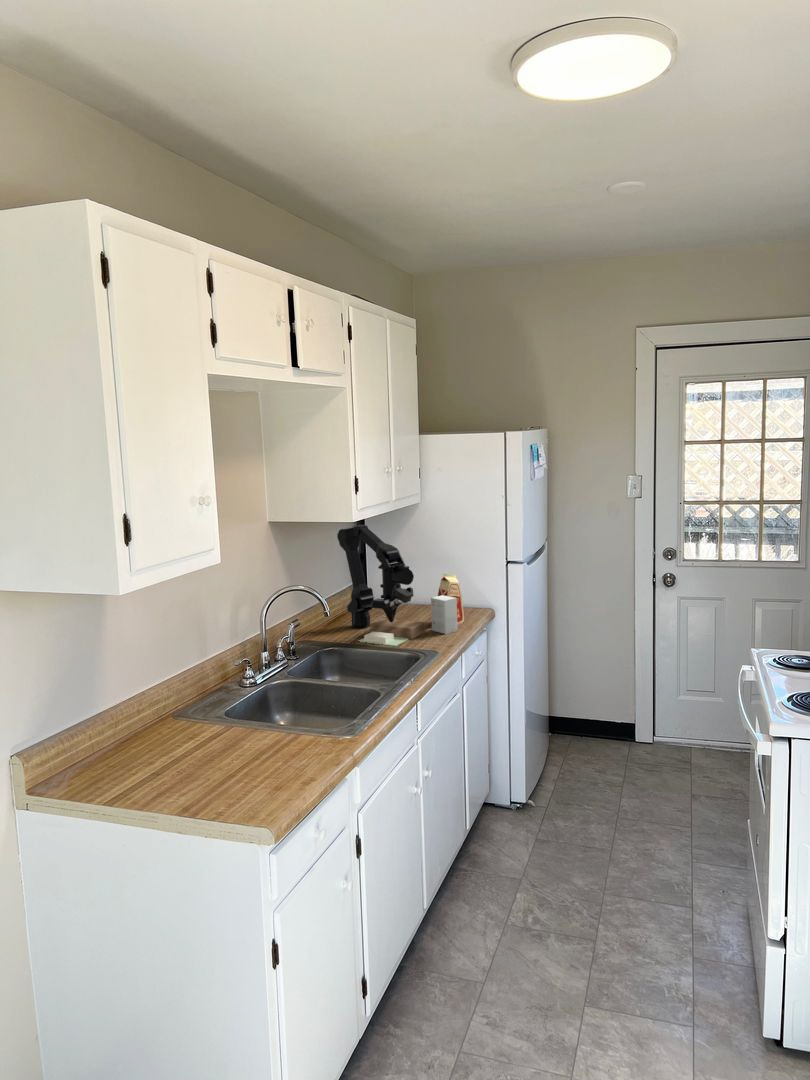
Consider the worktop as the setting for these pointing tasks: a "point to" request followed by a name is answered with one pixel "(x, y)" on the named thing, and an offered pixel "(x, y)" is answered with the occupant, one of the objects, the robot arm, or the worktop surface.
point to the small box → (444, 614)
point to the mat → (393, 642)
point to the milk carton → (452, 593)
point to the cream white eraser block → (378, 637)
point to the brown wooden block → (398, 628)
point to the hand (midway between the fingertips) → (391, 622)
